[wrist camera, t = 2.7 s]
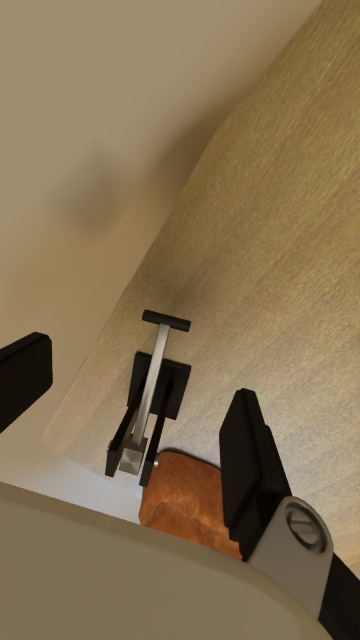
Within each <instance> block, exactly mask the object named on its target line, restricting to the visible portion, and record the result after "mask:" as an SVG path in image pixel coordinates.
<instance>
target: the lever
mask: <svg viewBox="0 0 360 640" xmlns="http://www.w3.org/2000/svg"><path fill="white" fill-rule="evenodd" d="M142 320H143V321H147V322H151V323H155V324H158V325H160V326H159V330H158V334H157V339H156V343H155V347H154V351H153V355H152V359H151V363H150V367H149V371H148V376H147V380H146V384H145V388H144V392H143V396H142V400H141V404H140V409H139V413H138V417H137V421H136V425H135V429H134V433H133V434H130V436H129V438H128V440H127V442H126V445H125V447H124V449H123V454H122V458H121V462H120V466H119V470H120V471H124V472H127V473H131V474H134V475H138V473H139V469H140V466H141V463H142V460H143V457H144V453H145V449H146V445H147V441H148V438H145V437H143V436H144V432H145V428H146V424H147V420H148V416H149V412H150V408H151V404H152V400H153V396H154V392H155V388H156V384H157V380H158V376H159V372H160V368H161V364H162V360H163V356H164V352H165V349H166V345H167V341H168V337H169V333H170V329H171V328H173V329H177V330H181V331H185V332H189V328H190V325H191V321H188V320H184V319H180V318H177V317H173V316H169V315H165V314H161V313H158V312H154V311H150V310H146V309H145V310H144V312H143V316H142Z"/></svg>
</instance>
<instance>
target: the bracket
mask: <svg viewBox="0 0 360 640" xmlns="http://www.w3.org/2000/svg"><path fill="white" fill-rule="evenodd" d="M151 359H152V355H149V354H145V353H142V352H137V353H136V354H135V358H134V365H133V371H132V377H131V383H130V390H129V396H128V402H127V407H128V410H127V412H126V414H125V416H124V418H123V420H122V422H121V424H120V426H119V428H118V430H117V432H116V434H115V436H114V438H113V440H111V441H110V443H109V445H108V448H107V462H106V470H105V475H106V476H109V477H114V474H115V472H116V469H117V467H118V464H119V462H120V459H121V457H122V454H123V449H124V447H125V445H126V442H127V440H128V438H129V436H130V434H131V432H132V430H133V427H134V425H135V422H136V420H137V417H138V413H139V409H140V404H141V400H142V396H143V392H144V388H145V384H146V380H147V376H148V371H149V367H150V363H151ZM190 372H191V366H190V365H186V364H182V363H179V362H175V361H171V360H168V359H164V358H163V360H162V364H161V368H160V372H159V376H158V380H157V384H156V388H155V392H154V396H153V400H152V404H151V408H150V412H149V413H152V414H155V415H158V417H157V421H156V424H155V428H154V431H153V434H152V438H151V441H150V445H149V448H148V451H147V455H146V458H145V462H144V466H143V470H142V474H141V478H140V483H139V485H140V486H143V487H146V488H147V487H148V484H149V480H150V476H151V473H152V469H153V467H155V468H157V467H158V463H159V459H160V453H157V450H158V446H159V441H160V437H161V433H162V429H163V425H164V421H165V417H166V418H170V419H173V420H176V418H177V415H178V412H179V408H180V405H181V402H182V398H183V395H184V392H185V388H186V385H187V382H188V378H189V375H190Z"/></svg>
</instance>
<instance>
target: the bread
mask: <svg viewBox="0 0 360 640" xmlns="http://www.w3.org/2000/svg"><path fill="white" fill-rule="evenodd" d="M139 520H140V525H142V526H145V527H148V528H152V529H155V530H158V531H161V532H164V533H167V534H170V535H173V536H176V537H179V538H182V539H185V540H188V541H191V542H194V543H197V544H200V545H203V546H206V547H209V548H212V549H215V550H217V551H220V552H222V553H225V554H227V555H229V556H232V557H234V558H237V559H239V560H240V559H241V557H242V556H241V554H240V552H239V543H238V542H234V541H231V540H229V532H228V528H226V527H225V526H224V521H223V503H222V484H221V471H219V470H218V469H217V468H215V467H213V466H211V465H209V464H206V463H203V462H201V461H198V460H195V459H193V458H190V457H188V456H186V455H182V454H178V453H174V452H170V451H166V452H161V453H160V459H159V463H158V467H157V468H155V467H153V469H152V473H151V476H150V480H149V484H148V487H147V488H146V487H143V493H142V502H141V507H140V511H139Z"/></svg>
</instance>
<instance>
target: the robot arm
mask: <svg viewBox="0 0 360 640" xmlns="http://www.w3.org/2000/svg"><path fill="white" fill-rule="evenodd" d="M52 383H53V372H52V341H51V339H50V338H49V336H48V335H46V334H42V333H38V332H33V333H31V334H29V335H27V336H25V337H24V338H21V339H19V340H17V341H15V342H13V343H12V344H10V345H8V346H6V347H4V348H2V349H0V433H1V432H3V431H4V430H5V429H6V428H7V427H8V426H9V425H10V424H11V423H12V422H14V421H15V420H16V419H17V418H18V417H19V416H20V415H21V414H22V413H23V412H25V411H26V410H27V409H28V408H29V407H30V406H31V405H32V404H33V403H34V402H35V401H36V400H37V399H38V398H40V397H41V396H42V395H43V394H44V393H45V392H46V391H47V390H48V389H49V388H50V387H51V385H52ZM219 445H220V464H221V484H222V503H223V521H224V526H225V527H226V528H228V532H229V540H231V541H234V542H238V543H239V552H240V554H241V556H242V557H241V559H240V560H239V559H237V558H234V557H232V556H229V555H227V554H225V553H222V552H220V551H217V550H215V549H212V548H209V547H206V546H203V545H200V544H197V543H194V542H191V541H188V540H185V539H182V538H179V537H176V536H173V535H170V534H167V533H164V532H161V531H158V530H155V529H152V528H148V527H145V526H142V525H138V524H135V523H133V522H129V521H126V520H123V519H120V518H117V517H113V516H110V515H107V514H104V513H101V512H98V511H94V510H91V509H88V508H85V507H81V506H78V505H75V504H71V503H68V502H65V501H62V500H59V499H55V498H52V497H49V496H46V495H42V494H39V493H36V492H33V491H29V490H26V489H23V488H20V487H16V486H13V485H10V484H7V483H3V482H0V640H360V580H359V579H358V578H357V577H356V576H355V575H354V574H353V573H352V572H351V571H350V569H349V568H348V567H347V566H346V565H345V564H344V563H343V562H342V561H341V559H340V558H339V557H338V556H337V555H336V554H335V553H334V552H333V542H332V538H331V534H330V532H329V530H328V528H327V526H326V524H325V523H324V521H323V520H322V518H321V517H320V515H319V514H318V513H317V512H316V511H315V510H314V509H313V508H312V507H311V506H310V505H309V504H308V503H306V502H305V501H304V500H302V499H300V498H298V497H294V496H292V493H291V490H290V487H289V484H288V481H287V478H286V475H285V472H284V468H283V465H282V462H281V459H280V456H279V453H278V450H277V447H276V444H275V441H274V438H273V435H272V432H271V430H270V427H269V426H268V425H265V422H264V419H263V416H262V412H261V409H260V406H259V403H258V399H257V396H256V393H255V391H252V390H248V389H245V388H242V389H241V390H237V391H236V393H235V395H234V398H233V400H232V402H231V405H230V407H229V409H228V412H227V414H226V417H225V419H224V421H223V424H222V426H221V429H220V432H219Z"/></svg>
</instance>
